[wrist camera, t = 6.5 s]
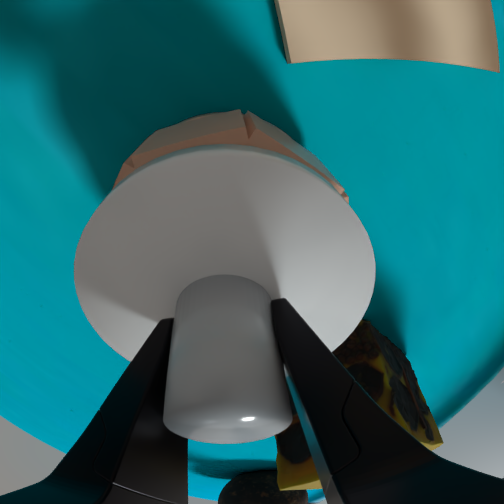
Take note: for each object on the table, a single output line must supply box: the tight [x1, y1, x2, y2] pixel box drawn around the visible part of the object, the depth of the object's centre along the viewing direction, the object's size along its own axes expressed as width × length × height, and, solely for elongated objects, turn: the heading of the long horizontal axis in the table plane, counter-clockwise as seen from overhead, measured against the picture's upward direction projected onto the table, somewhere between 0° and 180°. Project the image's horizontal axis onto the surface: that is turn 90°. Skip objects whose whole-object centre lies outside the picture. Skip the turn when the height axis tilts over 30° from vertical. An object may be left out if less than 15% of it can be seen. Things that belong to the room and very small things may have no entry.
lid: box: [74, 144, 375, 444], centre depth 7 cm, size 9×9×4 cm
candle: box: [274, 320, 443, 491], centre depth 20 cm, size 10×10×10 cm
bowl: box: [112, 109, 349, 204], centre depth 12 cm, size 9×9×4 cm
